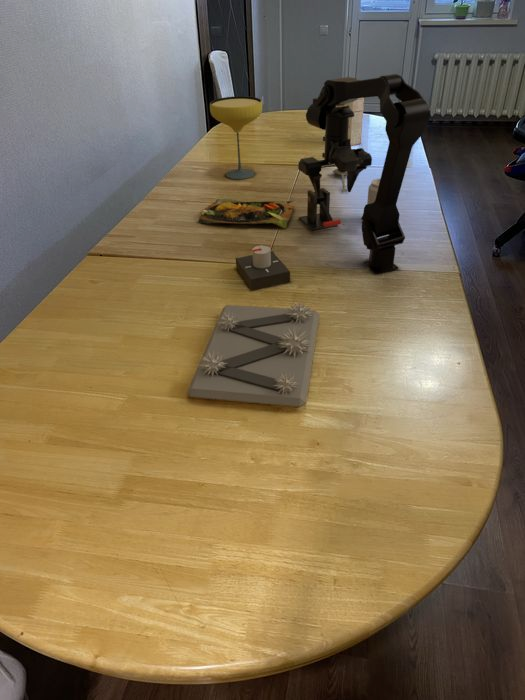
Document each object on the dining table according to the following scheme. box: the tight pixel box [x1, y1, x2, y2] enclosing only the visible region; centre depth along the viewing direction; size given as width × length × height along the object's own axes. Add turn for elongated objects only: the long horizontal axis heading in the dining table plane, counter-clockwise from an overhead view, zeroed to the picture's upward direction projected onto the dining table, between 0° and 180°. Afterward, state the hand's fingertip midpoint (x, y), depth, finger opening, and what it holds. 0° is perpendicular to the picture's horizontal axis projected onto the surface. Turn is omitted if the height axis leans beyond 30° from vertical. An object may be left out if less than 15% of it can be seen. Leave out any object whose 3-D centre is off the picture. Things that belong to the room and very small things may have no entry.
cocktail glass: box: [209, 95, 263, 181], centre depth 185 cm, size 18×18×25 cm
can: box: [366, 178, 381, 205], centre depth 150 cm, size 8×8×12 cm
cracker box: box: [336, 98, 365, 147], centre depth 216 cm, size 14×6×21 cm, turn 25°
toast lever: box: [313, 191, 342, 227], centre depth 147 cm, size 12×5×2 cm, turn 20°
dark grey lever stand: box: [298, 187, 339, 232], centre depth 151 cm, size 10×8×10 cm
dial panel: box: [235, 250, 291, 291], centre depth 129 cm, size 12×10×3 cm
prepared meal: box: [198, 198, 297, 230], centre depth 159 cm, size 28×4×18 cm
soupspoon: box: [332, 168, 348, 193], centre depth 181 cm, size 22×3×7 cm
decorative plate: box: [186, 300, 320, 408], centre depth 101 cm, size 30×22×7 cm
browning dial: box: [252, 245, 272, 269], centre depth 127 cm, size 4×4×4 cm
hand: (333, 194), depth 140 cm, fingers open, 9 cm apart
